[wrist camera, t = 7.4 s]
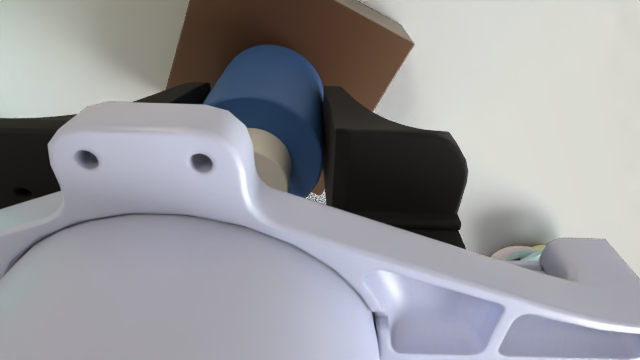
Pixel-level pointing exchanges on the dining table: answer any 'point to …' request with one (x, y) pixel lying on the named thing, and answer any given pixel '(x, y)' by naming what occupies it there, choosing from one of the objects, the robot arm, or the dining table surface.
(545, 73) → the dining table surface
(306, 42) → the walnut block
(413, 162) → the robot arm
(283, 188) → the blue bottle
